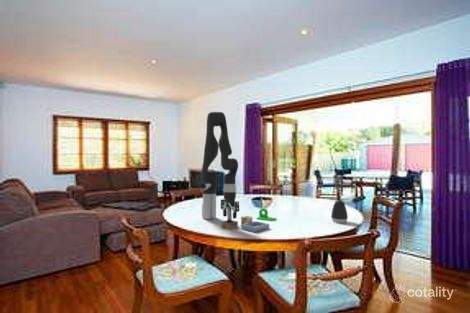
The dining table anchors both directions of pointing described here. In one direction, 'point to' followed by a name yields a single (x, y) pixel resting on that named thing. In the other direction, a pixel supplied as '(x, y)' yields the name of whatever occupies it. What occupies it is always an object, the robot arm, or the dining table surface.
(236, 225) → the wooden square socket
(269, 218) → the mechanical part
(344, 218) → the dark grey domed speaker
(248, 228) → the tray
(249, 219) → the block
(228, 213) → the rod
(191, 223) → the dining table surface
